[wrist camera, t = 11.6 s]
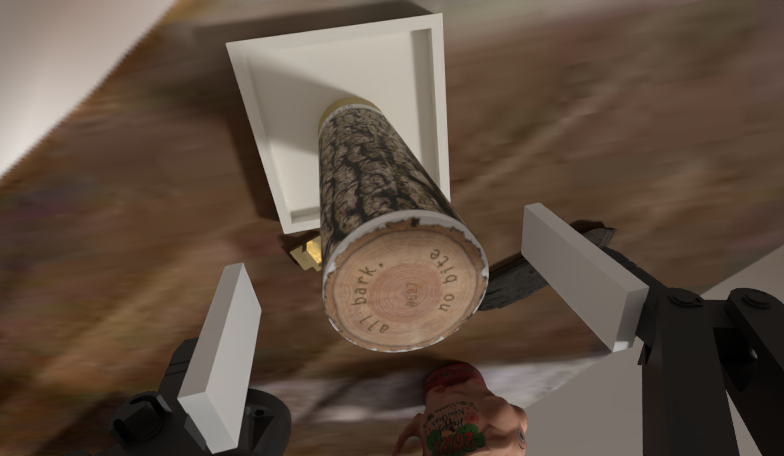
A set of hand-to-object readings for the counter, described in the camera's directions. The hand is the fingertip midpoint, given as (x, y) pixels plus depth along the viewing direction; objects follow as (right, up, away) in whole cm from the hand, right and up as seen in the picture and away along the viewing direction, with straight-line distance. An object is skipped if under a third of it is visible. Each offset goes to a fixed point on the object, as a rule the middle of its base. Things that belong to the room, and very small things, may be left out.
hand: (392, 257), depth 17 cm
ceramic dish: (-4, +11, +20) cm, 23 cm away
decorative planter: (+8, -24, +42) cm, 49 cm away
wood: (+20, -4, +34) cm, 40 cm away
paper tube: (-4, +11, +19) cm, 22 cm away
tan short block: (-9, -1, +26) cm, 28 cm away
